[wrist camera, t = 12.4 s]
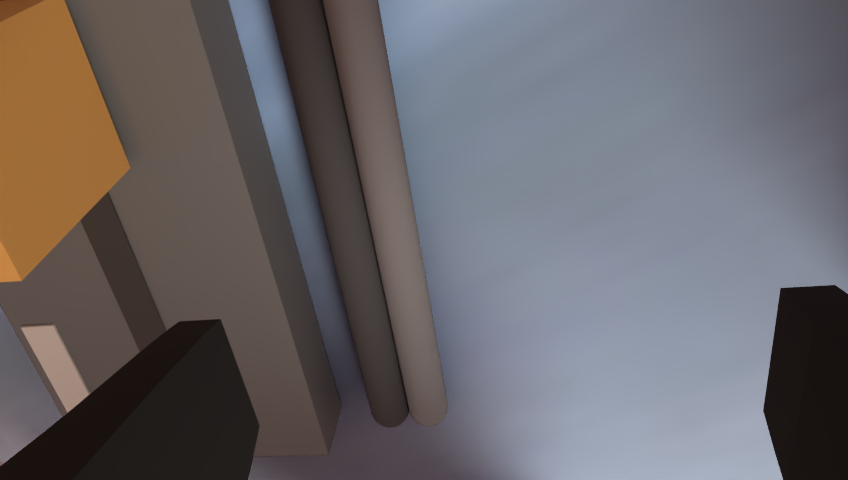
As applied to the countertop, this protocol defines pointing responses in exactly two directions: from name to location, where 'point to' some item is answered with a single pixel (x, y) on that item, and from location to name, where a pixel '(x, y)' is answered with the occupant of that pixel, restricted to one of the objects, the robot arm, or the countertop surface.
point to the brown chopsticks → (365, 198)
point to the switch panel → (180, 228)
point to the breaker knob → (48, 134)
